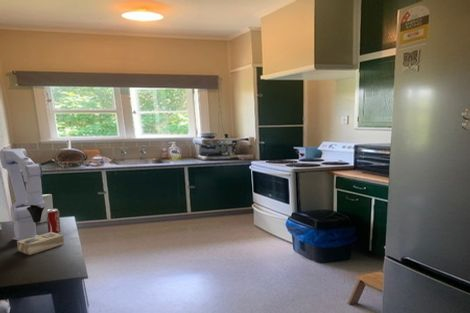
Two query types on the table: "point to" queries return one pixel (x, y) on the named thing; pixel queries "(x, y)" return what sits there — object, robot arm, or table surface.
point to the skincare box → (49, 205)
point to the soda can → (53, 221)
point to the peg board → (40, 243)
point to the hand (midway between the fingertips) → (37, 222)
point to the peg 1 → (31, 240)
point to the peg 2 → (49, 235)
